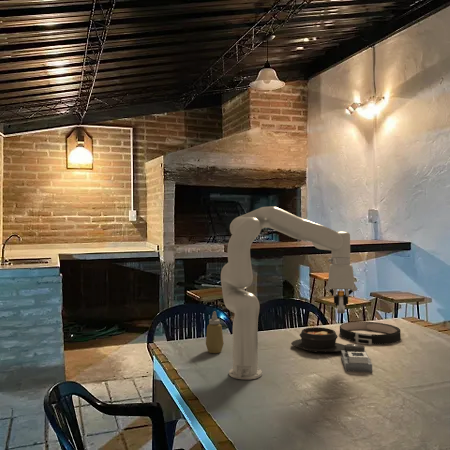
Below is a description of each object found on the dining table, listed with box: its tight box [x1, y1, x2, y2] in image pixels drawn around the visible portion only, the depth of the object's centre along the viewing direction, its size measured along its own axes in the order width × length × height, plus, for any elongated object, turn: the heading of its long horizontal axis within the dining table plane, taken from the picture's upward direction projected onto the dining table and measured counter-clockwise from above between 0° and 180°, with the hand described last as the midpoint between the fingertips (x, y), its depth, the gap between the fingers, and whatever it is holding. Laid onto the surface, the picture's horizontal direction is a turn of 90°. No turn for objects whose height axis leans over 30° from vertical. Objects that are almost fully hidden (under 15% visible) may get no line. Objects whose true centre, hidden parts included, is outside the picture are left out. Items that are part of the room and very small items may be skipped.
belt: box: [339, 321, 401, 345], centre depth 230 cm, size 29×30×5 cm
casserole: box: [290, 326, 346, 354], centre depth 208 cm, size 25×19×8 cm
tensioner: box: [340, 343, 373, 373], centre depth 186 cm, size 18×10×7 cm, turn 171°
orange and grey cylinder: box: [336, 290, 346, 315], centre depth 191 cm, size 3×3×9 cm
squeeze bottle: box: [205, 311, 224, 354], centre depth 205 cm, size 8×8×18 cm
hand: (340, 305), depth 191 cm, fingers closed on orange and grey cylinder, 3 cm apart
